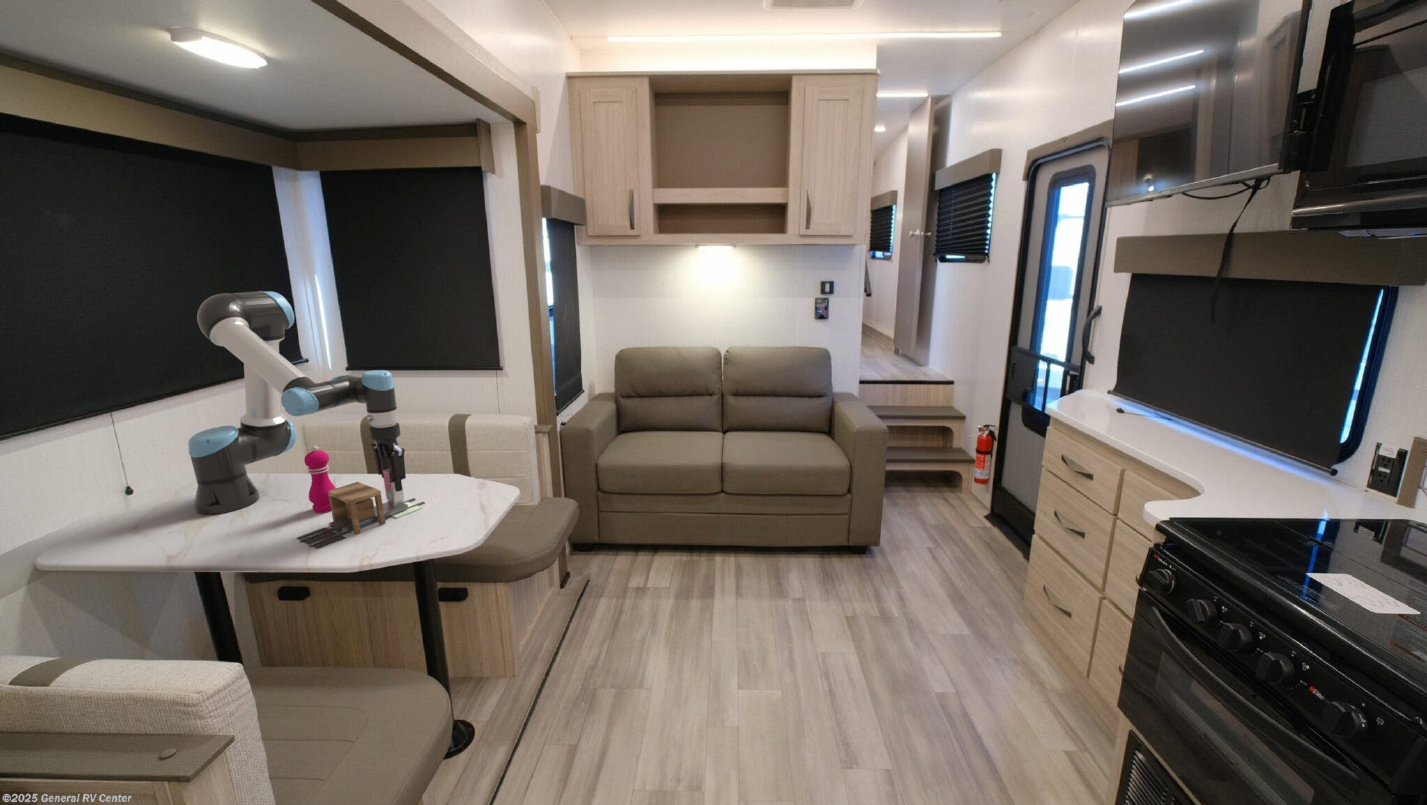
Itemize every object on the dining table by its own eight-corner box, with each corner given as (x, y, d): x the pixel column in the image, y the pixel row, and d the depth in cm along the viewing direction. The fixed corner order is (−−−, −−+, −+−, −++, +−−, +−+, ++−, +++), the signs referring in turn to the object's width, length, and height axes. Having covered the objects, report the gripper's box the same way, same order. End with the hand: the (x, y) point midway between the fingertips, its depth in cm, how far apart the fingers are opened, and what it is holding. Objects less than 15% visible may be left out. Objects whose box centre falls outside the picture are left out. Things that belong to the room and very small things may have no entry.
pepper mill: (325, 515, 168) (314, 450, 163) (305, 512, 169) (292, 449, 164) (345, 504, 174) (335, 443, 169) (325, 502, 176) (314, 441, 171)
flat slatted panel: (297, 538, 154) (296, 537, 154) (325, 528, 160) (324, 527, 160) (317, 549, 148) (317, 548, 148) (345, 538, 154) (345, 537, 154)
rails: (299, 541, 152) (299, 539, 152) (414, 499, 179) (413, 497, 178) (310, 547, 149) (310, 545, 149) (425, 503, 176) (424, 502, 175)
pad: (375, 509, 171) (375, 508, 171) (401, 500, 178) (401, 499, 178) (396, 518, 166) (396, 517, 166) (422, 508, 172) (422, 507, 172)
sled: (329, 526, 159) (322, 486, 156) (394, 503, 174) (389, 465, 171) (342, 533, 155) (335, 491, 152) (408, 508, 170) (402, 470, 167)
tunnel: (333, 524, 162) (327, 491, 159) (362, 513, 169) (357, 481, 166) (356, 534, 156) (350, 500, 153) (385, 523, 162) (380, 490, 160)
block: (347, 517, 162) (344, 501, 160) (365, 511, 166) (363, 495, 164) (357, 521, 159) (354, 505, 158) (375, 515, 163) (372, 499, 162)
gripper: (355, 423, 165) (367, 497, 171) (386, 432, 157) (398, 510, 163) (381, 417, 172) (392, 489, 177) (412, 425, 163) (423, 500, 169)
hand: (395, 499), depth 170 cm, fingers closed on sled, 3 cm apart
